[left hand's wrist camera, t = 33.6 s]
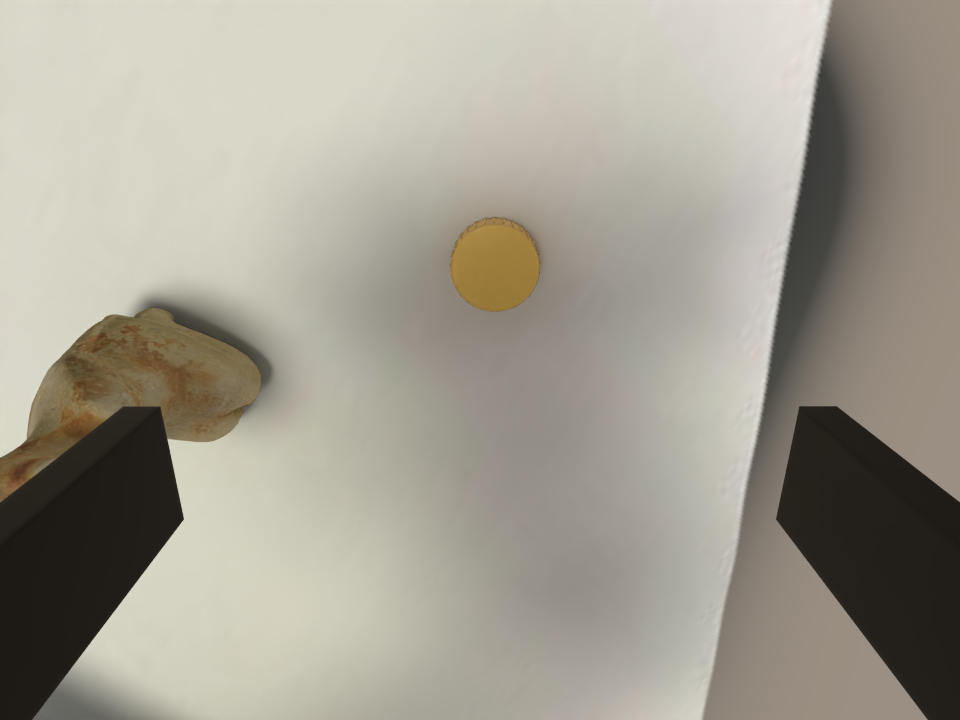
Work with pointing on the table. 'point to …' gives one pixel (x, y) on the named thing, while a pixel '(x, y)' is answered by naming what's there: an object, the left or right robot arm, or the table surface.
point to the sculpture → (133, 388)
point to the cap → (495, 264)
